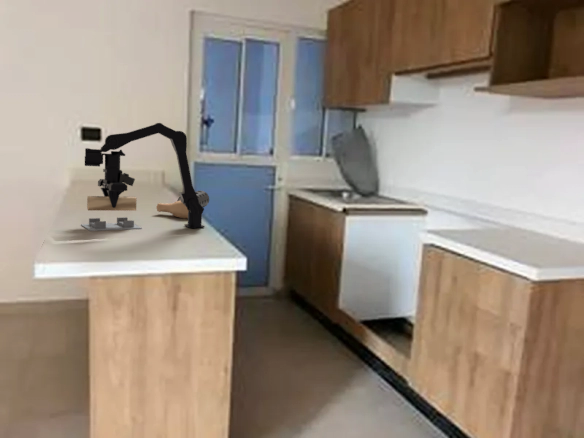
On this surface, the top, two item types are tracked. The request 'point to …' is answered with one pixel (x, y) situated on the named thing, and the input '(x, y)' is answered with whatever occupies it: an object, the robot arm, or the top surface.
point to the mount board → (110, 224)
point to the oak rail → (105, 203)
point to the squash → (174, 209)
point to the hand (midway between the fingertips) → (112, 206)
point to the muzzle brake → (201, 198)
